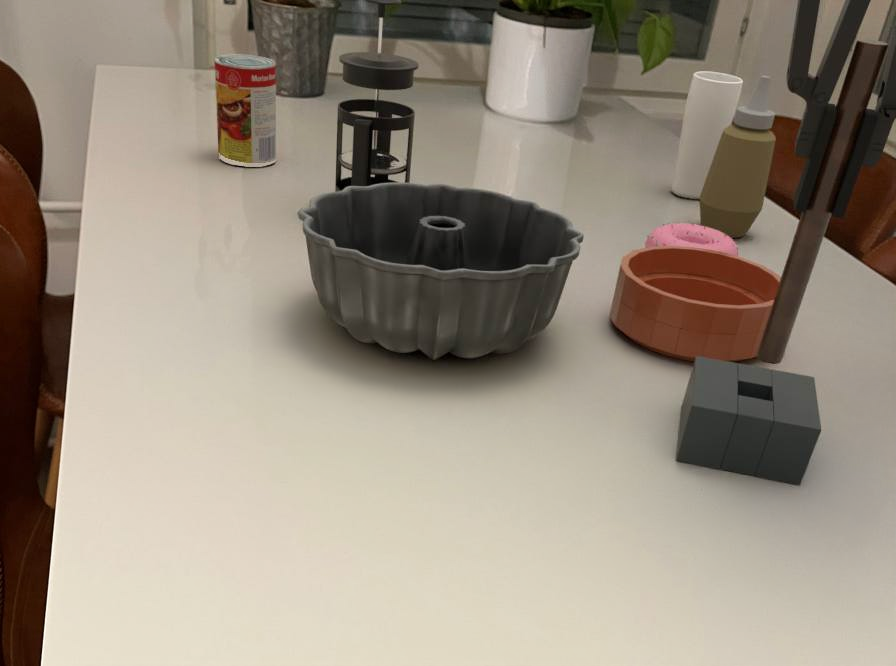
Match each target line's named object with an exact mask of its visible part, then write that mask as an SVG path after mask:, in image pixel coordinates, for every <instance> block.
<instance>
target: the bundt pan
mask: <svg viewBox="0 0 896 666" xmlns="http://www.w3.org/2000/svg"><path fill="white" fill-rule="evenodd" d="M308 205H309V206H307V207H304V208H300V209H299V210H297V215H298V219H299V220H300V221H302V232H303V235H304V236H305V242H306V249H307V256H308V262H309V268H310V270H309V271H310V276H311V280H312V284H313V286H314V290H315V291H316V294H317V297H318V301H319V303H320V305H321V307H322V309H323V311H324V312H325V313H326V315H327V316H328V317H329V318H330V319H331V320H332V321H333V322H335V323H336V324H337V325H339V326H340V327H343V328H344V329H346V330H347V332H348V333H349V335H350V336H351V337H352V338H353V339H354V340H357V341H359V342H361V343H363V344H376V343H377V344H379V345H380V346H381V347H383V348H385V349H386V350H388V351H391V352H393V353H398V354H407V353H412V352H416V351H419V350H420V351H421V352H422V353H423V354H424V355H426V356H427V357H428V358H429V359H431V360H432V361H436V360H438V359H439V358H441V357H443V356H445V355H446V354H448V353H450V354H452V355H453V356H456V357H457V358H461V359H477V358H481V357H483V356H485V355H488V354H489V353H492V354H493V353H494V354H498V355H499V354H501V355H505V354H509V353H512V352H515V351H516V350H518V348H520V347H522V346H523V344H524V343H525V342H527V341H529V340H531V339H534V337H537V336H538V335H539V334H540V333H542V332H543V331H544V330H545V329H546V328H547V326H549V324H551V321H552V319H553V318H554V316H555V314H556V311H557V309H558V306H559V303H560V300H561V297H562V295H563V292H564V289H565V286H566V283H567V279H568V276H569V274H570V270H571V267H572V264H573V261H575V260H576V259H578V257H579V255H580V252H581V245H580V244H581V243H582V242H583V241H584V237H585V234H584V233H582V232H580V231H578V230H576V229H574V227H573V223H572V221H571V220H570V219H569V218H567V216H565V215H563V214H561V213H558V212H556V211H554V210H551V209H546V208H542V207H540V205H539V204H538V203H537V202H536V201H531V200H525V199H519V198H514V197H512V196H510V195H508V194H505V193H501V192H498V191H493V190H488V189H483V188H473V187H458V186H455V185H450V184H447V183H446V184H445V183H430V184H423V183H414V182H409V183H405V182H401V181H397V182H391V183H380V184H374V185H371V186H348V187H345V188H344V189H343V190H342V191H337V192H335V191H331V192H325V193H321V194H319V195H316V196H314V197H313V198H311V199H310V201H309V204H308Z"/></svg>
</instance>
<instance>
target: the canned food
mask: <svg viewBox="0 0 896 666" xmlns="http://www.w3.org/2000/svg"><path fill="white" fill-rule="evenodd" d="M276 68H277V64H276V61H275V60H273V59H271V58H270V57H265V56H260V55H255V54H254V55H253V54H244V53H227V54H220V55H217V56H215V57H214V74H215V75H214V78H215V101H216V102H215V104H216V128H217V150H218V151H217V153H218V152H219V153H220V155H222V156H224V157H225V158H228V159H231V160H235V161H239V162H244V163H245V162H246V163H266V162H271V161H274V160H275V159H276V160H277V89H276V88H277V75H276V74H277V69H276Z"/></svg>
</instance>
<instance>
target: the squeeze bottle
mask: <svg viewBox="0 0 896 666" xmlns="http://www.w3.org/2000/svg"><path fill="white" fill-rule="evenodd" d="M770 87H771V77H770V76H769V75H760V76H759V79H758V80H757V83H756V85H755V86H754V89H753V90H752V93H751V95H750V97H749V99H748V101H747V103H746V105H742V106H740V105H739V106H737V109H736V112H735V115H734V119H733V123H734V124H732V125H730V126H728V127H726V128H725V129H724V130H723V132H722V135H721V138H720V141H719V144H718V146H717V149H716V152H715V155H714V158H713V160H712V163H711V166H710V169H709V172H708V174H707V177H706V180H705V183H704V186H703V188H702V191H701V194H700V199H699V217H700V218H699V219H700V224H701V226H705V227H709V228H712V229H715V230H718V231H720V232H722V233H724V234H726V235H729V237H730V238H732V239H734V238H743V237H745V236H747V233H749V230H750V229H751V227H752V225H753V224H754V222H755V220H756V219H757V218H758V216H759V215H760V213H761V212H762V210H763V206H764V201H765V196H766V191H767V187H768V181H769V176H770V171H771V166H772V161H773V156H774V151H775V146H776V141H777V138H776V135H775V134H774V132H773V131H771V130H770V129H772V127H773V123H774V120H775V116H776V112H774V111H772V110H770V109H769V97H770Z"/></svg>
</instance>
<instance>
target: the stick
mask: <svg viewBox="0 0 896 666" xmlns="http://www.w3.org/2000/svg"><path fill="white" fill-rule="evenodd" d="M888 47H889V43H887V42H884V41H880V40H875V39H867V38H860V39H857V40H856V42H855V45H854V48H853V51H852V53H851V57H850V60H849V64H848V67H847V70H846V72H845V76H844V78H843V79H844V80H843V83H842V86H841V89H840V92H839V95H838V97H837V101H836V104H835V106H836V107H835V108H836V109H837V112H838V113H837V116H836V119H835V122H834V125H833V128H832V131H831V134H830V138H829V141H828V144H827V147H826V150H825V153H824V156H823V159H822V162H821V166H820V169H819V172H818V175H817V178H816V181H815V184H814V187H813V190H812V194H811V197H810V200H809V203H808V206H807V209H806V212H805V213H804V212H801V214H800V216H799V217H800V218H799V219H798V223H797V227H796V230H795V232H794V236H793V238H792V242H791V246H790V248H789V252H788V255H787V258H786V261H785V264H784V268H783V271H782V274H781V280H780V283H779V286H778V289H777V292H776V295H775V298H774V302H773V305H772V308H771V311H770V314H769V317H768V320H767V324H766V327H765V330H764V333H763V336H762V339H761V342H760V345H759V349H758V352H757V355H756V357H755V358H756V359H757V360H759V361H760V362H762V363H765V364H769V365H777V364H781V362H782V361H783V359H784V355H785V353H786V349H787V346H788V344H789V340H790V337H791V334H792V331H793V329H794V325H795V323H796V320H797V317H798V314H799V312H800V308H801V305H802V302H803V300H804V296H805V293H806V291H807V288H808V284H809V282H810V279H811V275H812V274H813V273H812V272H813V269H814V266H815V264H816V260H817V258H818V255H819V251H820V250H821V249H820V248H821V247H822V246H821V245H822V243H823V240H824V237H825V234H826V231H827V228H828V225H829V223H830V219H831V217H832V210H833V207H834V204H835V201H836V198H837V195H838V192H839V189H840V186H841V183H842V180H843V177H844V174H845V171H846V168H847V165H848V162H849V159H850V156H851V153H852V150H853V148H854V145H855V142H856V139H857V136H858V133H859V130H860V127H861V124H862V121H863V118H864V115H865V113H866V110H867V109H868V107H869V103H870V100H871V98H872V95H873V92H874V89H875V86H876V83H877V80H878V77H879V74H880V71H881V68H882V65H883V62H884V59H885V56H886V53H887V50H888Z"/></svg>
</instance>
